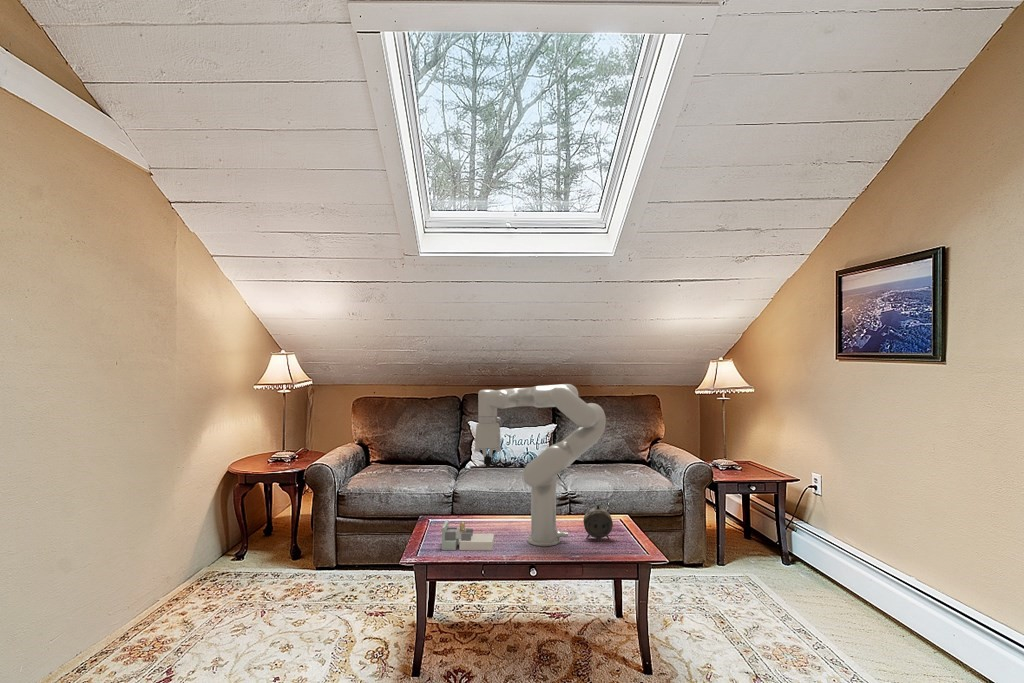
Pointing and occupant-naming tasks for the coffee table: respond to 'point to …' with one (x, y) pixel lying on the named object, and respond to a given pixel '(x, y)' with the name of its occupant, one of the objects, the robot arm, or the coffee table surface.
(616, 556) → the coffee table surface
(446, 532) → the door jamb
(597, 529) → the alarm clock
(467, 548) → the door board
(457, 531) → the bolt
